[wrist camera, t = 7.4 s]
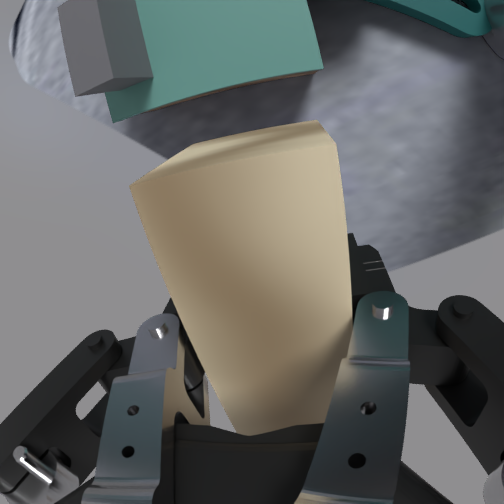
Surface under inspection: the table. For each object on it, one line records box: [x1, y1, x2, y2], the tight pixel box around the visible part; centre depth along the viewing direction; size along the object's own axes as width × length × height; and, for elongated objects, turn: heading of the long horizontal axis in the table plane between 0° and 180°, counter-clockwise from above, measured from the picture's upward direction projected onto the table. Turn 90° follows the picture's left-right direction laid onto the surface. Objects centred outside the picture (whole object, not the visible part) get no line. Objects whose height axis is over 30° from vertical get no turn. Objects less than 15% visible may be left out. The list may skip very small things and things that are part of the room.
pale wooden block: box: [129, 120, 353, 436], centre depth 10 cm, size 4×10×4 cm, turn 13°
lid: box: [58, 0, 324, 123], centre depth 14 cm, size 14×10×7 cm
